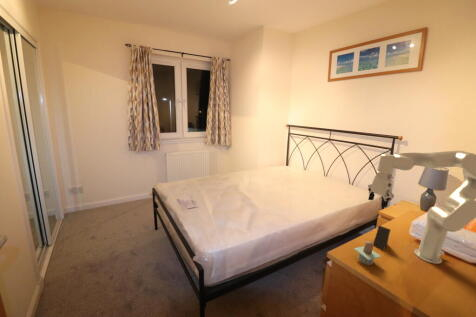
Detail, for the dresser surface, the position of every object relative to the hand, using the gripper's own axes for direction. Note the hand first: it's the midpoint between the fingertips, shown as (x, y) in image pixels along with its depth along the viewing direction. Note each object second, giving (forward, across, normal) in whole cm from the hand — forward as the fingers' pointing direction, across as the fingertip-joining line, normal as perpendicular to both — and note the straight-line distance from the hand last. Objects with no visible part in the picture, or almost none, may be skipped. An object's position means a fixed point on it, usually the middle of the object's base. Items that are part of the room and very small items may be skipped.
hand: (377, 203), depth 133 cm
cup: (+28, -12, +12) cm, 33 cm away
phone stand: (+29, 0, -10) cm, 30 cm away
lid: (+24, -12, +12) cm, 29 cm away
